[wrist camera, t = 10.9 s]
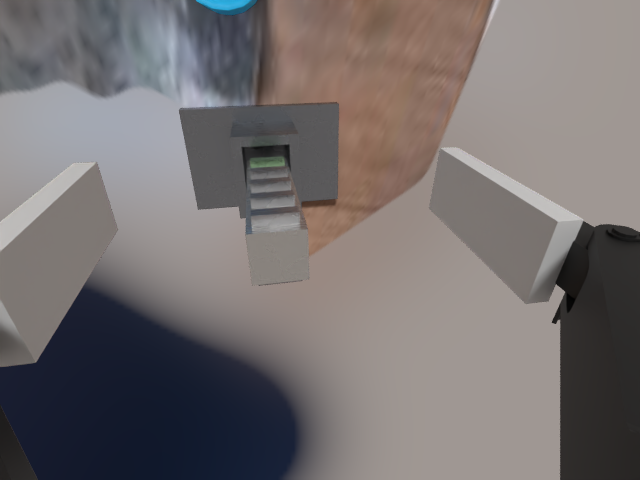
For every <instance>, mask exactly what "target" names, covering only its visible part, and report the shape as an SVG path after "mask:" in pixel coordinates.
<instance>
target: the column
mask: <svg viewBox="0 0 640 480" xmlns="http://www.w3.org/2000/svg"><path fill="white" fill-rule="evenodd" d="M246 242H247V249H248V257H249V265H250V273H251V281H252V285H259V286H260V285H268V284H278V283H287V282H296V281H302V280H307V279H309V250H308V228H307V225H306V221H305V218H304V215H303V211H302V208H301V205H300V202H299V198H298V195H297V192H296V188H295V185H294V182H293V179H292V175H291V172H290V169H289V165H288V162H287V159H286V158H284V156H279V157H262V158H250V160H247V186H246Z"/></svg>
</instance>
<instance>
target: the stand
mask: <svg viewBox="0 0 640 480" xmlns="http://www.w3.org/2000/svg"><path fill="white" fill-rule="evenodd" d="M179 114H180V119H181V124H182V129H183V134H184V139H185V144H186V149H187V155H188V160H189V165H190V170H191V175H192V181H193V186H194V191H195V196H196V201H197V206H198V210H199V209H212V208H224V207H237V206H239V211H240V218H246V186H247V160H250V158H262V157H279V156H284V158H286V159H287V162H288V165H289V169H290V172H291V175H292V179H293V182H294V185H295V188H296V192H297V195H298V198H299V202H300V205H301V208H302V201H315V200H328V199H337V196H338V127H339V104H338V103H337V102H330V103H304V104H278V105H252V106H226V107H200V108H180V109H179Z"/></svg>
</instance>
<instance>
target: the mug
mask: <svg viewBox="0 0 640 480" xmlns="http://www.w3.org/2000/svg"><path fill="white" fill-rule="evenodd" d="M196 1H197V2H199V3H200V4H202V5H203V6H205V7H206V8H208V9H210V10H212V11H214V12H216V13H219V14H224V15H236V14H239V13H243V12H245V11H247V10H248V9H249V8H251V7H252V6H253V5H255V3H256V2H257V0H196Z"/></svg>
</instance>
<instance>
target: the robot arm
mask: <svg viewBox="0 0 640 480" xmlns="http://www.w3.org/2000/svg"><path fill="white" fill-rule="evenodd" d="M429 209H430V210H431V211H432V212H433V213H434V214H435V215H436V216H437V217H438V218H439V219H440V220H441V221H442V222H443V223H444V224H445V225H446V226H447V227H448V228H449V229H450V230H452V232H454V234H455V235H456V236H458V238H459V239H461V240H462V241H463V242H464V243H465V244H466V245H467V246H468V247H469V248H470V249H471V250H472V251H473V252H474V253H475V254H476V255H477V256H478V257H479V258H480V259H481V260H482V261H483V262H484V263H485V264H486V265H487V266H488V267H489V268H490V269H491V270H492V271H493V272H494V273H495V274H496V275H497V276H498V277H499V278H500V279H501V280H502V281H503V282H504V283H505V284H506V285H507V286H508V287H509V288H510V289H511V290H512V291H513V292H514V293H515V294H516V295H517V296H518V297H519V298H520V299H521V300H522V301H524V303H525V304H529V303H537V302H546V301H549V298H550V296H551V294H552V292H553V290H554V287H555V285H556V284H557V285H558V286H559V287H560V288H562V289H563V290H564V291H565V294H564V296H563V299H562V301H561V303H560V305H559V308H558V310H557V312H556V314H555V317H554V318H553V321H552V323H554V324H556V323H557V321H558V320H560V324H561V328H560V329H561V330H560V352H561V353H560V366H561V367H560V369H561V370H560V375H561V376H560V382H561V383H560V384H561V385H560V386H561V387H560V480H640V232H638V231H636V230H634V229H632V228H629V227H625V226H617V225H610V224H606V225H599V226H596V227H593V226H591V225H589V224H588V223H586V222H584V221H583V219H582V218H580V217H578V216H576V215H575V214H573V213H571V212H570V211H568V210H566V209H564V208H563V207H561V206H559V205H557V204H556V203H554V202H552V201H550V200H548V199H547V198H545V197H543V196H541V195H540V194H538V193H536V192H534V191H533V190H531V189H529V188H527V187H526V186H524V185H522V184H520V183H519V182H517V181H515V180H513V179H512V178H510V177H508V176H506V175H505V174H503V173H501V172H499V171H498V170H496V169H494V168H492V167H490V166H489V165H487V164H485V163H484V162H482V161H480V160H478V159H476V158H475V157H473V156H471V155H469V154H468V153H466V152H464V151H462V150H461V149H459V148H457V147H456V148H455V147H454V148H440V151H439V157H438V162H437V168H436V173H435V178H434V184H433V189H432V195H431V200H430V206H429ZM117 230H118V229H117V225H116V222H115V219H114V216H113V212H112V209H111V206H110V203H109V200H108V197H107V193H106V190H105V186H104V184H103V180H102V177H101V174H100V170H99V167H98V164H97V162H87V163H73V164H71V165H70V166H69V167H68V168H67V169H65V170H64V171H63V172H62V173H61V174H59V175H58V176H57V177H55V178H54V179H53V180H52V181H50V182H49V183H48V184H47V185H45V186H44V187H43V188H42V189H41V190H39V191H38V192H37V193H35V194H34V195H33V196H32V197H30V198H29V199H28V200H27V201H25V202H24V203H23V204H22V205H20V206H19V207H18V208H17V209H16V210H14V211H13V212H12V213H11V214H9V215H8V216H7V217H6V218H4V219H3V220H2V221H1V222H0V367H4V366H13V365H21V364H29V363H36V361H37V360H38V358H39V356H40V355H41V353H42V352H43V350H44V349H45V347H46V345H47V344H48V342H49V340H50V339H51V337H52V336H53V334H54V332H55V331H56V329H57V328H58V326H59V324H60V323H61V321H62V319H63V318H64V316H65V315H66V313H67V311H68V309H69V308H70V307H71V305H72V303H73V302H74V300H75V298H76V297H77V295H78V294H79V292H80V290H81V289H82V287H83V285H84V284H85V282H86V281H87V279H88V277H89V276H90V274H91V273H92V271H93V269H94V268H95V266H96V264H97V263H98V261H99V259H100V258H101V256H102V255H103V253H104V251H105V250H106V248H107V247H108V245H109V243H110V242H111V240H112V239H113V237H114V235H115V234H116V232H117ZM0 480H37V477H36V475H35V473H34V471H33V469H32V467H31V465H30V464H29V461H28V459H27V458H26V456H25V454H24V452H23V449H22V448H21V445H20V444H19V441H18V439H17V438H16V436H15V434H14V432H13V430H12V428H11V426H10V424H9V422H8V420H7V418H6V416H5V414H4V412H3V410H2V408H1V406H0Z"/></svg>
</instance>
